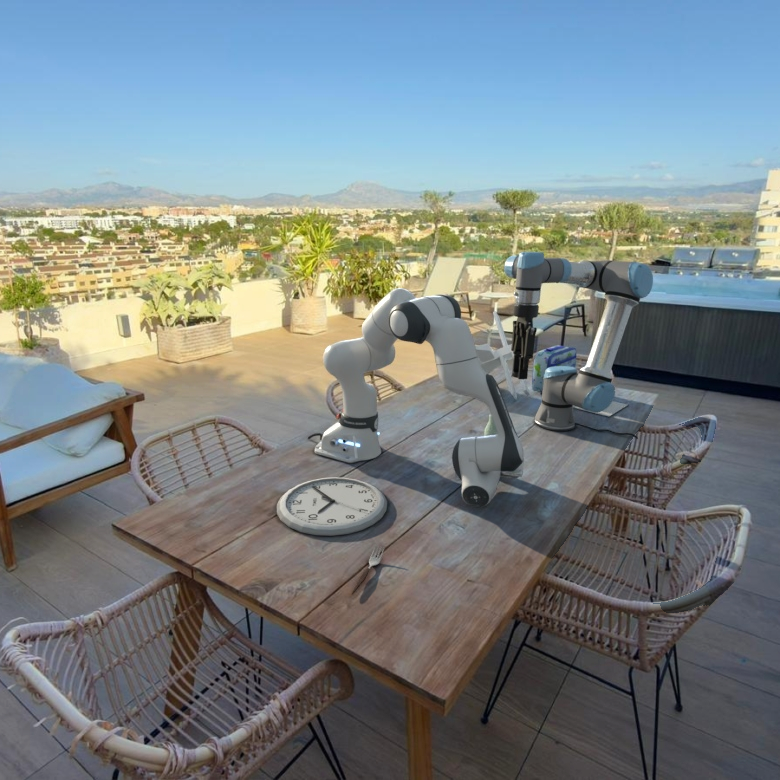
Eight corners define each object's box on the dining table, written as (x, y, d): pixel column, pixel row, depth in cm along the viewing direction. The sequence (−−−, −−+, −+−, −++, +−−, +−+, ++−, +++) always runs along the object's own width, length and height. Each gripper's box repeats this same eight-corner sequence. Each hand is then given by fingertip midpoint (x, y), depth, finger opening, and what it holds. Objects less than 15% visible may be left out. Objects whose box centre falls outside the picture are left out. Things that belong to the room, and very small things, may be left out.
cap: (526, 375, 169) (527, 370, 169) (526, 378, 165) (527, 373, 165) (512, 373, 170) (512, 369, 170) (512, 377, 166) (512, 372, 165)
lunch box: (548, 398, 236) (553, 353, 229) (527, 393, 243) (531, 349, 237) (575, 387, 253) (581, 344, 247) (555, 382, 260) (560, 341, 254)
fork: (346, 594, 108) (346, 586, 107) (374, 552, 122) (374, 544, 122) (357, 598, 107) (357, 589, 107) (385, 554, 121) (385, 547, 121)
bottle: (496, 478, 160) (501, 419, 154) (479, 474, 162) (483, 416, 157) (501, 471, 165) (506, 413, 159) (484, 467, 167) (489, 410, 161)
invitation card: (608, 416, 214) (573, 407, 224) (608, 416, 214) (573, 408, 224) (628, 404, 229) (594, 396, 238) (628, 405, 229) (594, 397, 238)
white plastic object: (461, 429, 252) (437, 405, 227) (444, 352, 274) (420, 323, 250) (535, 404, 240) (518, 377, 215) (510, 326, 262) (492, 293, 237)
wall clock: (392, 527, 129) (268, 531, 127) (391, 533, 130) (269, 537, 127) (383, 473, 158) (282, 475, 155) (383, 478, 158) (282, 480, 156)
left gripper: (523, 467, 146) (527, 448, 158) (451, 456, 152) (460, 439, 165) (521, 487, 148) (525, 467, 160) (450, 476, 154) (459, 457, 166)
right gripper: (504, 299, 168) (498, 369, 175) (526, 307, 152) (518, 384, 159) (527, 299, 170) (520, 369, 176) (550, 307, 153) (541, 384, 160)
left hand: (492, 453), depth 162 cm, fingers closed on bottle, 5 cm apart
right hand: (519, 376), depth 168 cm, fingers closed on cap, 4 cm apart
